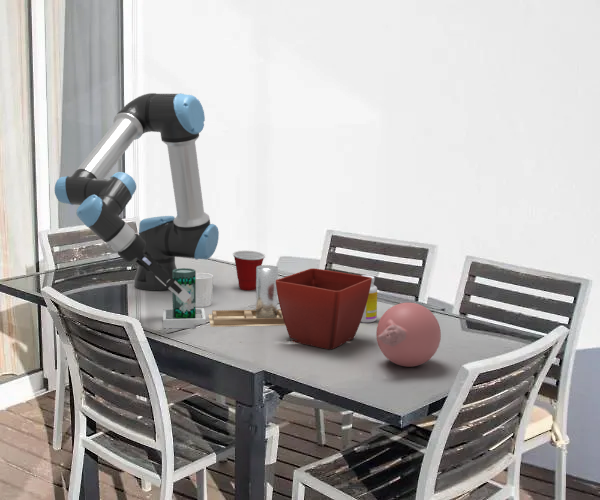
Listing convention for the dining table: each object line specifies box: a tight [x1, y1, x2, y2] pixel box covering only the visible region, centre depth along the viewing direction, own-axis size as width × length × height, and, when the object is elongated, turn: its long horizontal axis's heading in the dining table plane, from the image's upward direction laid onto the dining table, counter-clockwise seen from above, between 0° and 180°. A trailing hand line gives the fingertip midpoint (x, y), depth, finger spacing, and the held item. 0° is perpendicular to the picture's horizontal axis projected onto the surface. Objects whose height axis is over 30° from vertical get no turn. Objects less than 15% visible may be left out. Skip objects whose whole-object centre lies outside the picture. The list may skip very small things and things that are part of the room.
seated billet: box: [255, 264, 279, 318], centre depth 232 cm, size 6×6×15 cm
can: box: [172, 267, 197, 319], centre depth 231 cm, size 6×6×15 cm
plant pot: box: [276, 268, 372, 350], centre depth 217 cm, size 19×19×17 cm
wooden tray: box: [208, 308, 286, 328], centre depth 232 cm, size 13×22×3 cm, turn 99°
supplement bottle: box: [360, 274, 378, 324], centre depth 238 cm, size 7×7×13 cm
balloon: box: [375, 302, 442, 368], centre depth 197 cm, size 15×20×15 cm
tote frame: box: [162, 307, 207, 330], centre depth 232 cm, size 12×12×2 cm
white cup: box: [196, 272, 214, 308], centre depth 248 cm, size 8×8×10 cm
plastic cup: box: [232, 250, 266, 291], centre depth 273 cm, size 11×11×12 cm
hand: (181, 293), depth 230 cm, fingers open, 13 cm apart
